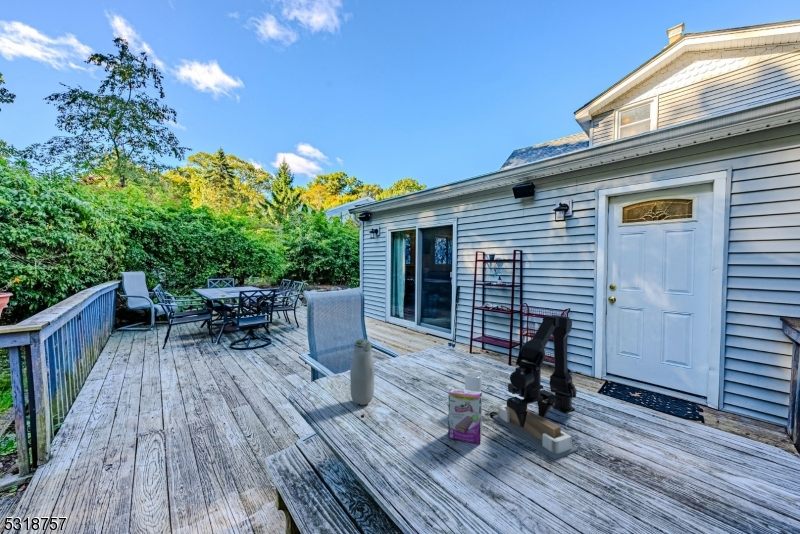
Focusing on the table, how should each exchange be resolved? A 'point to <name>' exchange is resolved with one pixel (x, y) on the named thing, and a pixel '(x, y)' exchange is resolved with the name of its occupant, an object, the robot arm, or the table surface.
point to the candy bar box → (465, 415)
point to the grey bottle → (362, 373)
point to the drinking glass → (473, 381)
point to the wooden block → (536, 425)
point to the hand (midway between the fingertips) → (531, 423)
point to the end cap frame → (547, 444)
